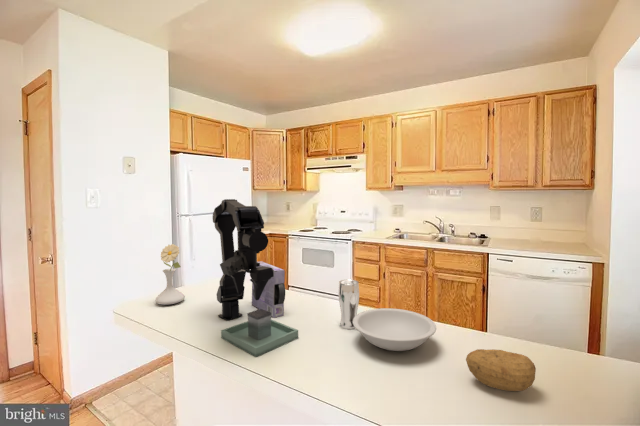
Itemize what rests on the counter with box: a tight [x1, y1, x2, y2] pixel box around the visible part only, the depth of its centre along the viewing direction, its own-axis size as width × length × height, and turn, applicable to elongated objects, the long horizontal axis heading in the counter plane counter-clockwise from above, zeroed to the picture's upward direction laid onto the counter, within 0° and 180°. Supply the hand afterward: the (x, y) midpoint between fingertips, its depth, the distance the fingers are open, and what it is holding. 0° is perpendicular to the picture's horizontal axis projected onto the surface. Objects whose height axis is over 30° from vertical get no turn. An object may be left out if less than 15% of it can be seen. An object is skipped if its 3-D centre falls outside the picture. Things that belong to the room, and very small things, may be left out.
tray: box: [220, 318, 299, 358], centre depth 100 cm, size 18×16×2 cm
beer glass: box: [338, 279, 360, 330], centre depth 109 cm, size 7×7×15 cm
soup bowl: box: [353, 307, 437, 352], centre depth 95 cm, size 24×24×7 cm
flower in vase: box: [154, 243, 186, 306], centre depth 134 cm, size 13×11×25 cm
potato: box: [465, 348, 537, 392], centre depth 74 cm, size 10×14×8 cm
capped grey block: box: [246, 309, 272, 341], centre depth 100 cm, size 5×5×7 cm
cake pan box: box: [251, 261, 286, 319], centre depth 124 cm, size 19×5×18 cm, turn 38°
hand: (248, 296), depth 100 cm, fingers open, 9 cm apart
